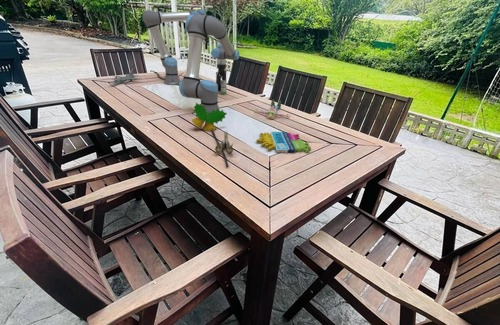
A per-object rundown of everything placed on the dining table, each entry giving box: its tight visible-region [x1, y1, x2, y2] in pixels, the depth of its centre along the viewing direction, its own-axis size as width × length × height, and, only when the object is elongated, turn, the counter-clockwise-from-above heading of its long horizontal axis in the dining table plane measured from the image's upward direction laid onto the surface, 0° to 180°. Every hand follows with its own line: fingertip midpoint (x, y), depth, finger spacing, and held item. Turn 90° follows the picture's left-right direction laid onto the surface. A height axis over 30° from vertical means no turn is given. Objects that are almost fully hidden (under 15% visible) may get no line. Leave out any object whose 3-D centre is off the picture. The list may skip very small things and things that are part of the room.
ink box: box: [217, 79, 228, 96], centre depth 236 cm, size 9×5×12 cm, turn 62°
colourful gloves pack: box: [256, 131, 312, 154], centre depth 152 cm, size 26×2×30 cm
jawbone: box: [214, 131, 234, 156], centre depth 136 cm, size 9×15×10 cm
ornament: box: [191, 102, 228, 132], centre depth 162 cm, size 21×8×15 cm, turn 105°
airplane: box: [109, 67, 143, 87], centre depth 251 cm, size 38×32×10 cm
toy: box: [252, 99, 291, 120], centre depth 197 cm, size 28×7×30 cm
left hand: (202, 50), depth 272 cm, fingers open, 13 cm apart
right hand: (221, 90), depth 238 cm, fingers open, 6 cm apart
